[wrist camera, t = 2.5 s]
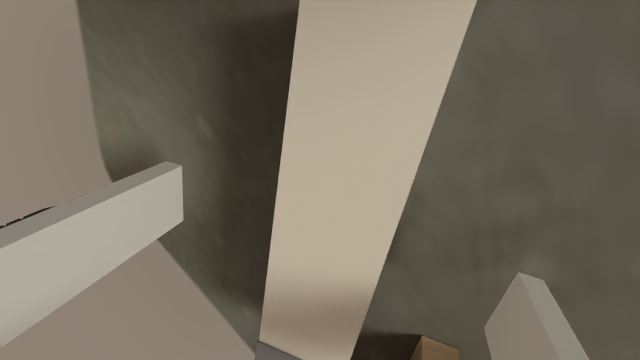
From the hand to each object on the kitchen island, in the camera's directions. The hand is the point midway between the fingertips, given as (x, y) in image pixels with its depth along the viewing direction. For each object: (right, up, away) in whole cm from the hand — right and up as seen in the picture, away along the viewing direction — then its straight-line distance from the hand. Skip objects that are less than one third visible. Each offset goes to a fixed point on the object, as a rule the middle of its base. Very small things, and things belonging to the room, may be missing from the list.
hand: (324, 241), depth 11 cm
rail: (+2, +2, +3) cm, 4 cm away
